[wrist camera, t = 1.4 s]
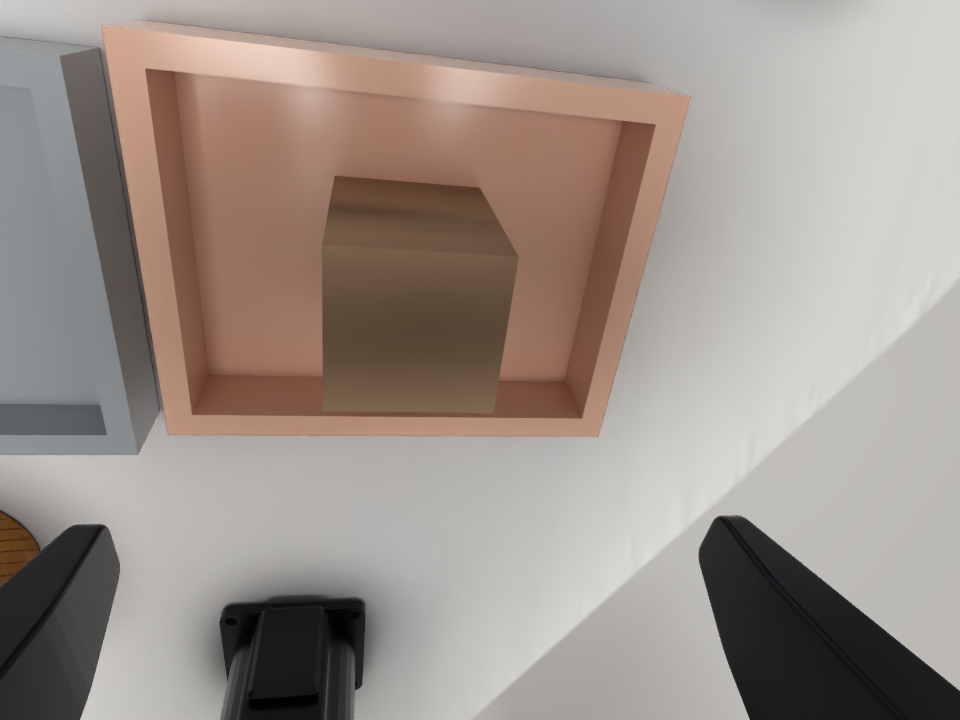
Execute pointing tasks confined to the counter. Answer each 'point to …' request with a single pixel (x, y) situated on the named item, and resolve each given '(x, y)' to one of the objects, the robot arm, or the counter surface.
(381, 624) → the counter surface
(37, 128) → the tray
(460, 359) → the block
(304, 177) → the dish
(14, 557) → the disposable coffee cup
